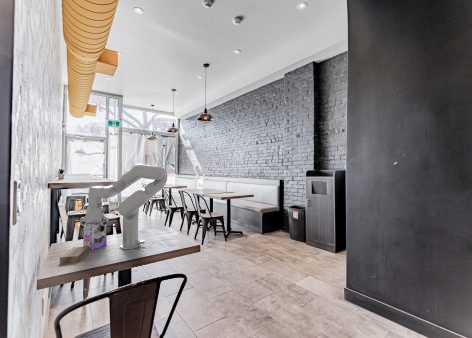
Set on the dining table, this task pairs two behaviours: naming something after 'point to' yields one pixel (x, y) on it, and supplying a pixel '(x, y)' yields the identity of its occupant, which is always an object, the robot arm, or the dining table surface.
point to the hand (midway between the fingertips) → (94, 231)
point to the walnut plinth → (74, 254)
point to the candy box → (94, 236)
